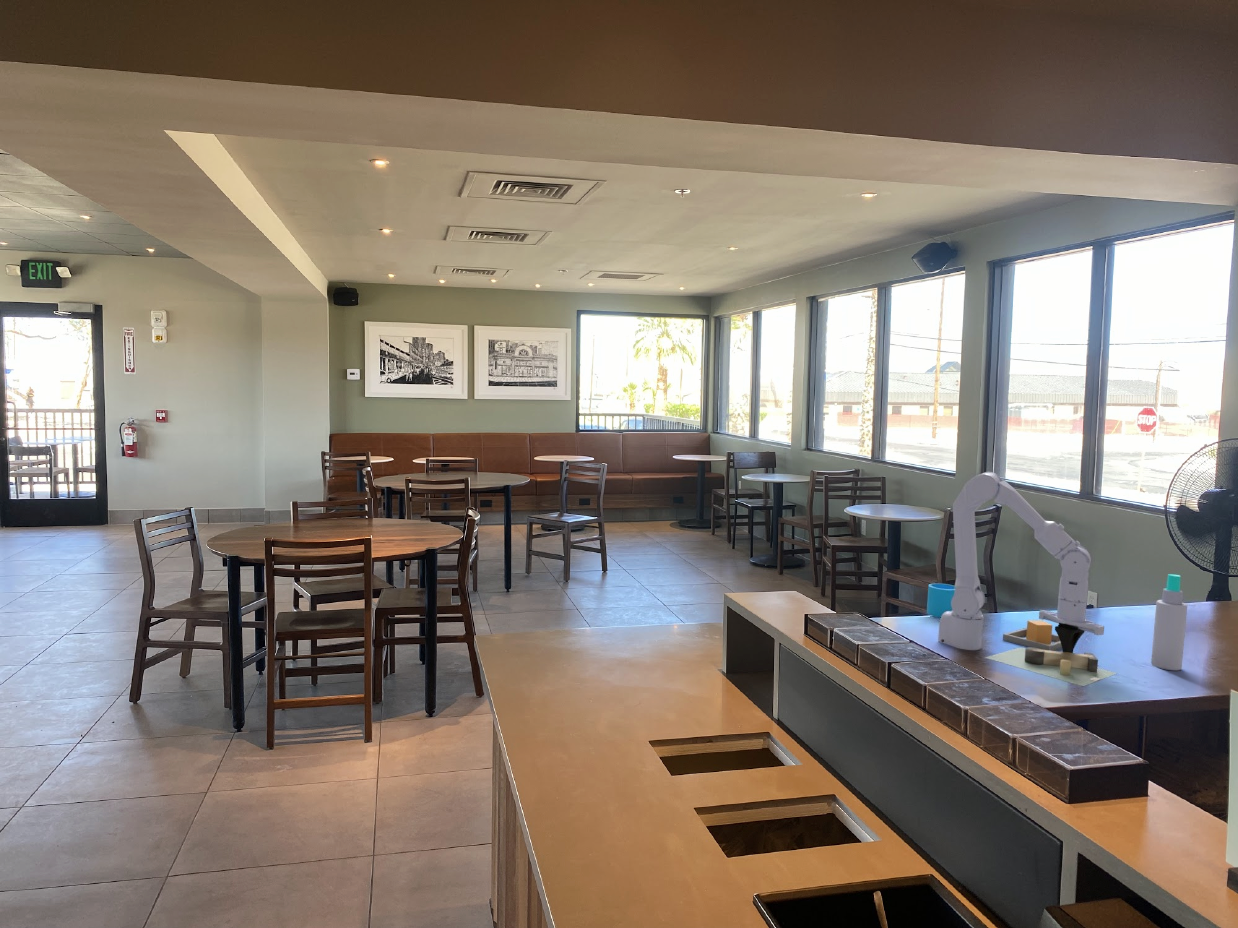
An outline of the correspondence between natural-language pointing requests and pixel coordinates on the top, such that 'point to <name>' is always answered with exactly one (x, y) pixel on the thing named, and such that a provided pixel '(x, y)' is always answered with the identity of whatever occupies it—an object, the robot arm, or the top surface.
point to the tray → (1016, 635)
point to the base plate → (1052, 668)
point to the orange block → (1039, 632)
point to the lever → (1055, 658)
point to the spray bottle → (1169, 627)
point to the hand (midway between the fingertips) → (1067, 657)
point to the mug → (939, 599)
